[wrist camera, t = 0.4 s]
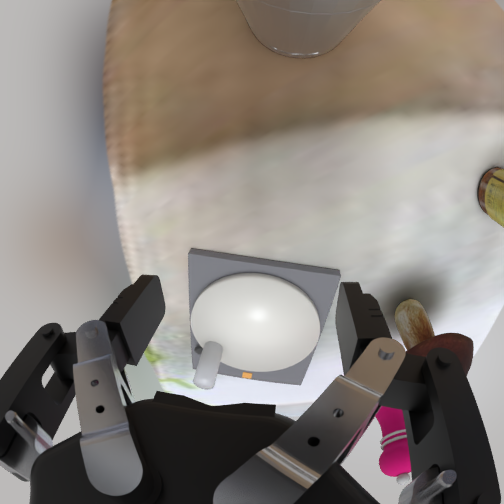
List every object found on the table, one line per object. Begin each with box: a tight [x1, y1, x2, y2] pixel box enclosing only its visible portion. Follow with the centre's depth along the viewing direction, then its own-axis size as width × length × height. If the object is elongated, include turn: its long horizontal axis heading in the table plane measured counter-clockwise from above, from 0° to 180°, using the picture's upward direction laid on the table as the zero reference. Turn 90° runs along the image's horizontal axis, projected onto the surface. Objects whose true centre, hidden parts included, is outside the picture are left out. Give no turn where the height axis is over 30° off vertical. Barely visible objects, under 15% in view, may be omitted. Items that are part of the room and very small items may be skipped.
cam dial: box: [191, 273, 320, 389], centre depth 33 cm, size 18×16×7 cm
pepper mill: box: [375, 406, 411, 485], centre depth 32 cm, size 7×7×20 cm
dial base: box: [188, 248, 341, 385], centre depth 37 cm, size 21×17×1 cm
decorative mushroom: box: [395, 299, 473, 376], centre depth 27 cm, size 11×11×15 cm
